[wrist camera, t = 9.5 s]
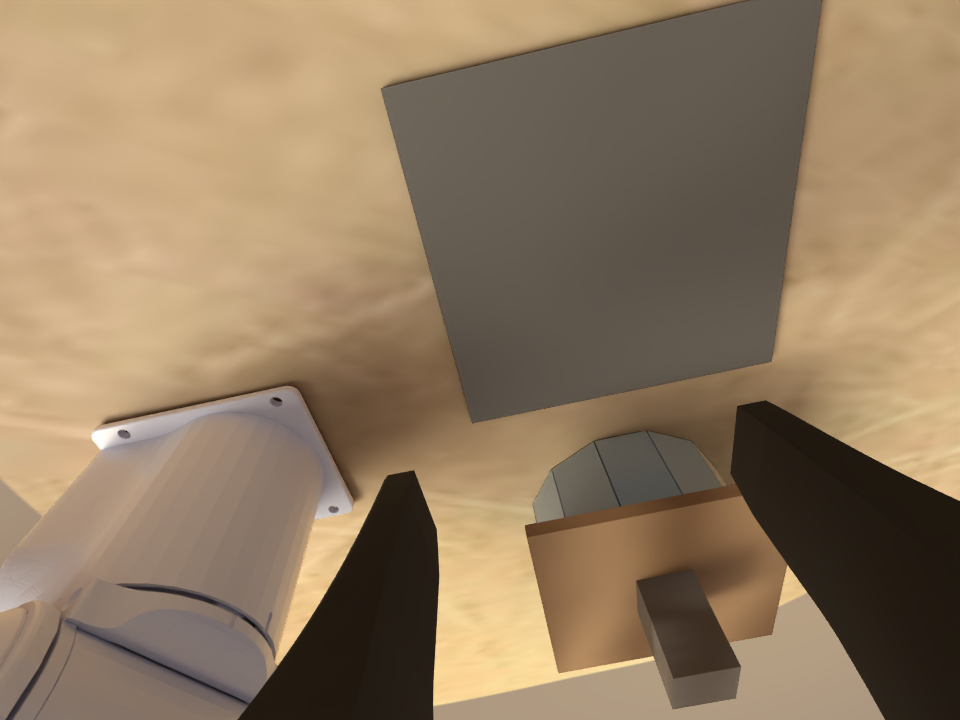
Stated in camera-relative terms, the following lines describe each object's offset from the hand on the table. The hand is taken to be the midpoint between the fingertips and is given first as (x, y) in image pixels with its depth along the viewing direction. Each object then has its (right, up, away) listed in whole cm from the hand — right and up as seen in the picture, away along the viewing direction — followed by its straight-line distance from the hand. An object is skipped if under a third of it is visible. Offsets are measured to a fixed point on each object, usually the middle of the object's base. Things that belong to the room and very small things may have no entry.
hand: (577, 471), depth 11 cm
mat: (+3, +7, +8) cm, 11 cm away
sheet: (+6, -8, +12) cm, 15 cm away
